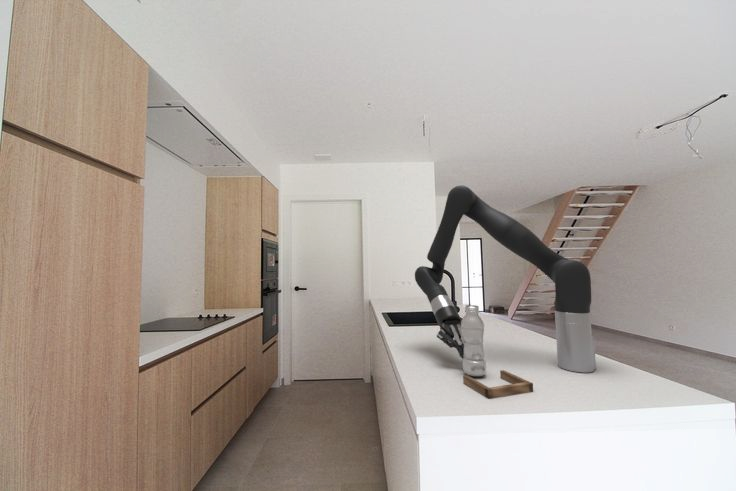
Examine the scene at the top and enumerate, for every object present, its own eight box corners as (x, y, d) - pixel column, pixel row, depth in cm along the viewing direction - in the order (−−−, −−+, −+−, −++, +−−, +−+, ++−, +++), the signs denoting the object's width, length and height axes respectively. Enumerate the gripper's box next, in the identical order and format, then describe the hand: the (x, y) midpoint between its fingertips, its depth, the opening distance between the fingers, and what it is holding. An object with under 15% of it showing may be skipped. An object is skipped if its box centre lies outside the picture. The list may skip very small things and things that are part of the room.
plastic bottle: (489, 380, 83) (486, 307, 85) (463, 378, 85) (461, 307, 86) (484, 372, 90) (482, 304, 91) (461, 370, 91) (458, 304, 92)
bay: (504, 377, 85) (503, 370, 85) (533, 391, 75) (532, 383, 76) (463, 383, 81) (463, 375, 81) (488, 398, 72) (488, 390, 72)
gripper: (431, 305, 99) (452, 353, 87) (465, 303, 103) (490, 349, 90) (424, 319, 104) (443, 366, 91) (457, 316, 108) (480, 362, 95)
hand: (466, 358), depth 91 cm, fingers closed
